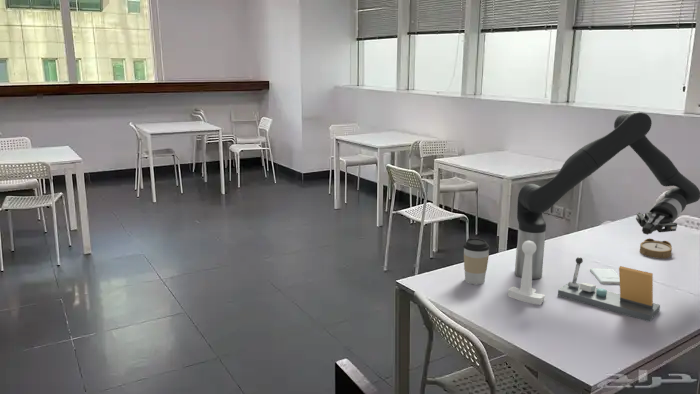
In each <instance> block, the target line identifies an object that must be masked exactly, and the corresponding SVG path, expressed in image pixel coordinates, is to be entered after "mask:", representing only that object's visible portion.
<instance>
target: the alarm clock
mask: <svg viewBox="0 0 700 394" xmlns="http://www.w3.org/2000/svg"><path fill="white" fill-rule="evenodd" d="M639 244H640V246H639V254H641V255H643V256H645V255H646V257H648V256H649V257H650V258H653V257H654V259H669V258H671V256H672V251H673V248H672V244H671V242H669V241H667V240H662V241H661V240H655V239H653V238H650V237H649V238H646V239H645V240H643V241H642V242H640V243H639ZM649 257H648V258H649Z"/></svg>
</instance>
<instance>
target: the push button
mask: <svg viewBox="0 0 700 394" xmlns="http://www.w3.org/2000/svg"><path fill="white" fill-rule="evenodd" d="M607 291H608V290H607V289H605V288H600V287H599V288H598V289H597V291H596V295H598V296H601V297H605V296H606V294H607Z"/></svg>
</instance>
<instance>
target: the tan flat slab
mask: <svg viewBox="0 0 700 394" xmlns="http://www.w3.org/2000/svg"><path fill="white" fill-rule="evenodd" d="M618 272H619V273H618V275H619V277H620V284H619V292H620V293H619V294H620V301H624V302H628V303H632V304H635V305H639V306H643V307H646V308H650V309H653V303H654V301H653V300H654V298H653V297H654V293H653V292H654V287H653V284H654V282H653V280H654V279H653V278H654V277H653V275H654V274H653V273H652V272H648V271H647V272H646V271H643V270H639V269H635V268H631V267H630V268H629V267H626V266H621V265H620V266H619V267H618Z"/></svg>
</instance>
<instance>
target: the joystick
mask: <svg viewBox="0 0 700 394" xmlns="http://www.w3.org/2000/svg"><path fill="white" fill-rule="evenodd" d="M522 250H523V252H524V254H525V257H524V265H523V272H522V277H521V280H520V285H519V286H520V288H518V287H516V286H511V287H510V288H508V292H507V297H510V298H512V299H514V300H518V301H519V302H522V303H523V302H524V303H527V304H531V305H539V306H540V305H542V303H543V302H544V301H545V297H546V296H545V294H542V293H537V289H536V288H533V285H532V284H533V279H532V255H533V253H535V251H536V244H535V243H534V242H533V241H525V242H524V243H523V245H522Z"/></svg>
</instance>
